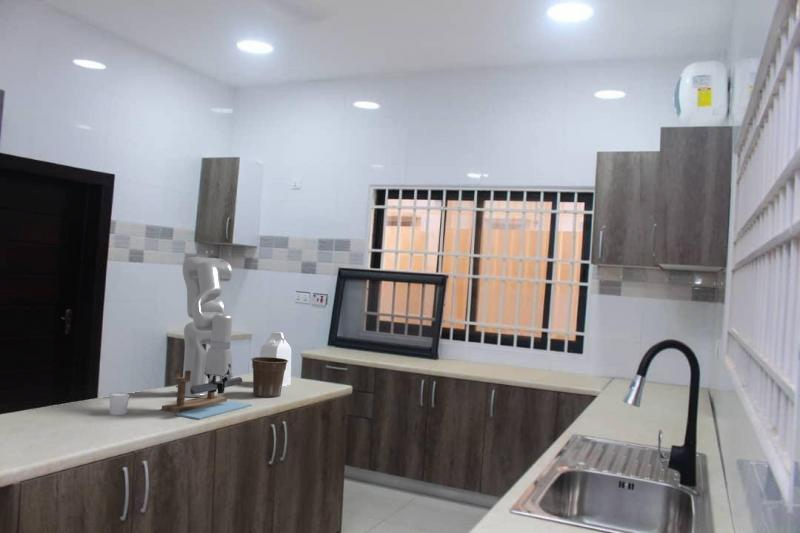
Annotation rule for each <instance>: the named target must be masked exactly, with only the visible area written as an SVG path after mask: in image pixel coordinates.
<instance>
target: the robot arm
mask: <svg viewBox="0 0 800 533" xmlns="http://www.w3.org/2000/svg"><path fill="white" fill-rule="evenodd" d="M182 278H183V280H184V283H185V286H186V310H187V311H186V312H187V316H188V318H190V319H192V320H193V321H191V322H188V323H186V325H185V326H184V328H183V339H184V357H183V358H184V359H183V370H182V373H183V374H182V378H185V371H188V370H190V371H191V374H190V382H186V386H185V398H199V397H204V396H207V394H208V391H206V392H202V393H197V394H191V392H190V388H191V387H192V386H196V385H201V384H206V383H207V382H206V380H207V379H208V380H209V382H217V381H218V380H217V377H219V381H220V383H219V384H218V389H216V390H211V391H210V392H211V393H212V392H215V393H216V392H217V394H218V395H220V394H224V393H225V388H226V387H225V383H226V381H227V380H228V379H232V378H234V376H233V372H232V369H233V356H232V350H231V339H232V326H233V317H232V315H230V314H228V313H227V312H226V308H225V303H224V301H223V300H222V299H220V298H219V297H220V296H221V295H222V291H223V290H222V285H221V282H226V283H227V282H229V281H230V282H231V280H232V278H233V267H232V266H231V264H230V263H229V262H228V261H226V260H224V259H222V258H216V257H202V256H190V257H187V258H185V259H184V261H183V264H182ZM203 345H209V347H210V348H208V349H207V350H206V349H205V347H204V346H203ZM175 388H177V389H178V384H176V385H175Z"/></svg>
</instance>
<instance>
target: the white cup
mask: <svg viewBox="0 0 800 533" xmlns="http://www.w3.org/2000/svg"><path fill="white" fill-rule="evenodd" d="M108 396H109V398H108V399H109V415H112V414H113V415H112V416H120V415H121V416H122V415H123V416H124V415H126V414H127V412H128V405H129V401H130V400H129V399H130V393H128V392H113V393H110V394H109V395H108Z"/></svg>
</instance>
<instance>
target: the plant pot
mask: <svg viewBox="0 0 800 533" xmlns="http://www.w3.org/2000/svg"><path fill="white" fill-rule="evenodd" d="M287 362H288V360H286V359H282V358H274V357H260V356H258V357H252V358H251V364H252V365H251V366H252V374H253V375H252V379H253V380H252V395H254V396H256V397H260V398H270V397H272V398H278V397H280V396H281V394H282V388H283V387H282V383H283V377H284V372H285V369H286V364H287Z"/></svg>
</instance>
